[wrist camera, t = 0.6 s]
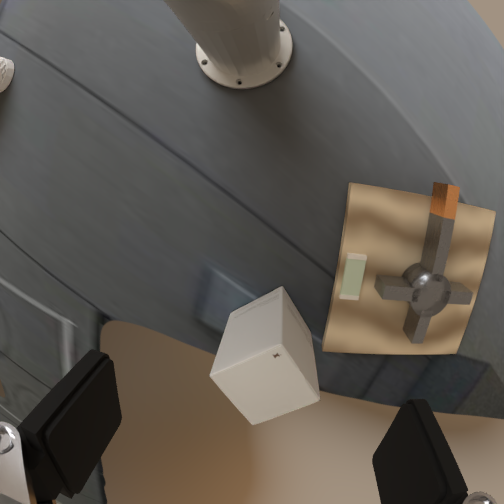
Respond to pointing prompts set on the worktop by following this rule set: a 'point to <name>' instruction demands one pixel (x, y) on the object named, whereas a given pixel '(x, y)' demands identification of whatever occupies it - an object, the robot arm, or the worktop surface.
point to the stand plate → (401, 271)
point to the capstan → (428, 270)
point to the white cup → (5, 73)
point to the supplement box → (267, 359)
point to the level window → (352, 276)
